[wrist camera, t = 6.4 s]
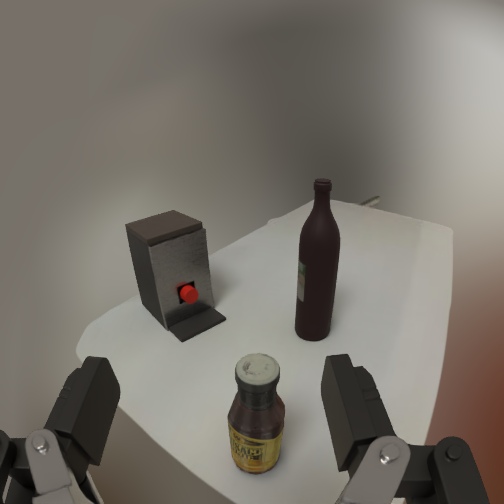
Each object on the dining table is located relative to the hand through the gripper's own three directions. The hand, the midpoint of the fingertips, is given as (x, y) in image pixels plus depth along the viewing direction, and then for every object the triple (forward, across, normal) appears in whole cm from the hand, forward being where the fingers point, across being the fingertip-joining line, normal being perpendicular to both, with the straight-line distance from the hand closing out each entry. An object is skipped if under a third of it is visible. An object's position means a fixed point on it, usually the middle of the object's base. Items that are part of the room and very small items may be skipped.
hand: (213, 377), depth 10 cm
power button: (+44, +11, +27) cm, 53 cm away
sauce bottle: (+12, -1, +32) cm, 34 cm away
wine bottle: (+40, -14, +32) cm, 53 cm away
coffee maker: (+48, +14, +32) cm, 59 cm away
